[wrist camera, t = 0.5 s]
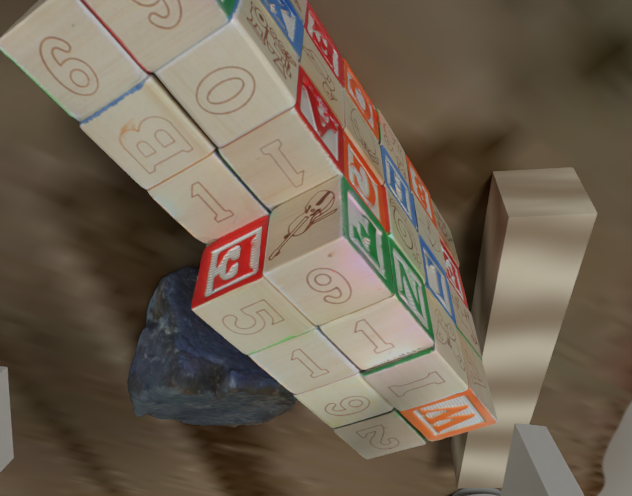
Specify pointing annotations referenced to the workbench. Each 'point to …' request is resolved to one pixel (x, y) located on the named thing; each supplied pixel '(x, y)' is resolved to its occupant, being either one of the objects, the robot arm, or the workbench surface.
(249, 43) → the stack of blocks
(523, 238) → the plank
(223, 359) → the rock
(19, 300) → the workbench surface
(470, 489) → the energy drink can
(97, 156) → the workbench surface
